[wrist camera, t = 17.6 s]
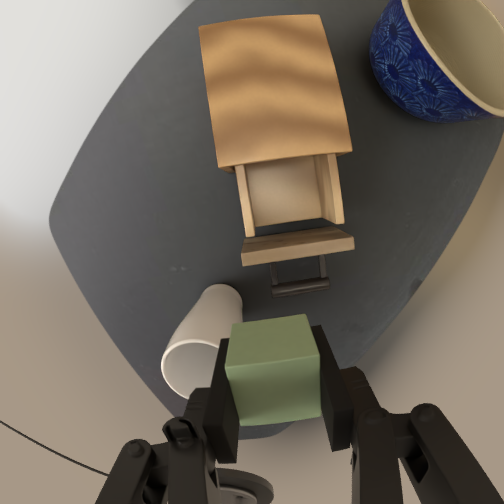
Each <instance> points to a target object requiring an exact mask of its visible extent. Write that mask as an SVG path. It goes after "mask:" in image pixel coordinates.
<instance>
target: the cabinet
mask: <svg viewBox="0 0 504 504" xmlns="http://www.w3.org/2000/svg"><path fill="white" fill-rule="evenodd" d="M198 28H199V36H200V44H201V51H202V59H203V66H204V73H205V81H206V88H207V95H208V102H209V108H210V115H211V122H212V129H213V135H214V142H215V148H216V155H217V161H218V167H219V168H220V169H222V170H224V171H226V172H228V173H234V172H236V170H235V166H237V165H243V164H250V163H256V162H263V161H270V160H278V159H286V158H294V157H303V156H312V155H322V154H333V153H335V154H336V157H337V156H340V155H343V154H346V153H349V152H352V151H353V150H352V144H351V138H350V133H349V127H348V122H347V117H346V112H345V108H344V103H343V98H342V94H341V90H340V85H339V81H338V77H337V73H336V69H335V66H334V62H333V58H332V55H331V51H330V48H329V44H328V41H327V38H326V34H325V31H324V28H323V25H322V22H321V19H320V16H319V15H281V16H267V17H256V18H247V19H239V20H232V21H226V22H220V23H214V24H209V25H204V26H199V27H198Z"/></svg>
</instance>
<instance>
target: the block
mask: <svg viewBox="0 0 504 504" xmlns="http://www.w3.org/2000/svg"><path fill="white" fill-rule="evenodd" d="M225 370H226V374H227V378H228V380H229V384H230V387H231V391H232V395H233V398H234V402H235V405H236V409H237V412H238V416H239V419H240V420H239V421H240V424H241V426H251V425H262V424H272V423H280V422H288V421H295V420H302V419H308V418H314V417H320V416H321V376H320V354H319V351H318V348H317V345H316V342H315V339H314V337H313V334H312V331H311V328H310V325H309V322H308V319H307V316H306V314H300V315H294V316H287V317H280V318H273V319H266V320H259V321H251V322H243V323H234V324H232V327H231V333H230V339H229V345H228V351H227V357H226V363H225Z"/></svg>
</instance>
